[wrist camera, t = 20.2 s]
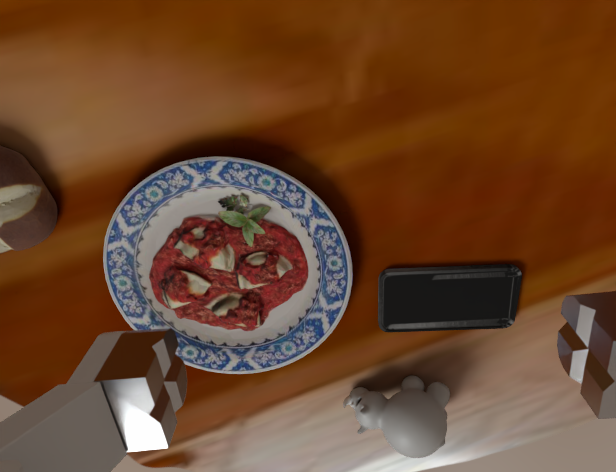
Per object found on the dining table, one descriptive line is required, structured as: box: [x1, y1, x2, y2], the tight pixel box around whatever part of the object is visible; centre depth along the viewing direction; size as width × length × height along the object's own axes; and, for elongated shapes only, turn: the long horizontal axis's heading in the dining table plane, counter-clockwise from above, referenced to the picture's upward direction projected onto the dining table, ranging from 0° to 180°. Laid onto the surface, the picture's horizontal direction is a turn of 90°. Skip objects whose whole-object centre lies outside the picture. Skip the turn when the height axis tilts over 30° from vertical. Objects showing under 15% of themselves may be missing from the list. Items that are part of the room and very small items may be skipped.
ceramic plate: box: [103, 156, 353, 374], centre depth 51 cm, size 26×26×3 cm
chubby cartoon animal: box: [343, 376, 450, 458], centre depth 56 cm, size 7×12×8 cm, turn 88°
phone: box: [378, 264, 522, 332], centre depth 53 cm, size 8×1×15 cm
